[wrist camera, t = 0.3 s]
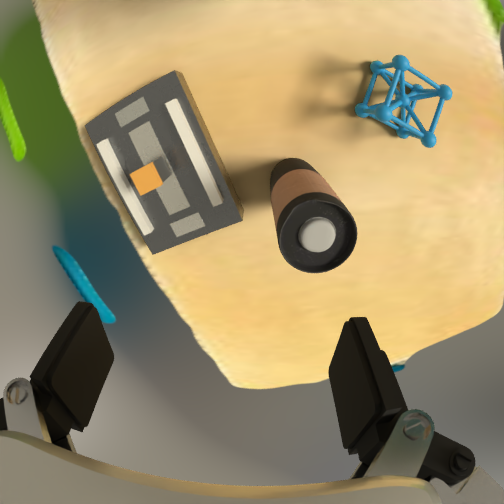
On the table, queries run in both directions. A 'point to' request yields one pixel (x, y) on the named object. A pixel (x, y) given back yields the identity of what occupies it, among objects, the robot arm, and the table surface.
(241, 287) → the table surface
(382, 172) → the table surface
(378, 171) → the table surface
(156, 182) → the switch handle
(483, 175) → the table surface
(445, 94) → the molecular structure
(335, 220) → the travel mug
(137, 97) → the switch panel
